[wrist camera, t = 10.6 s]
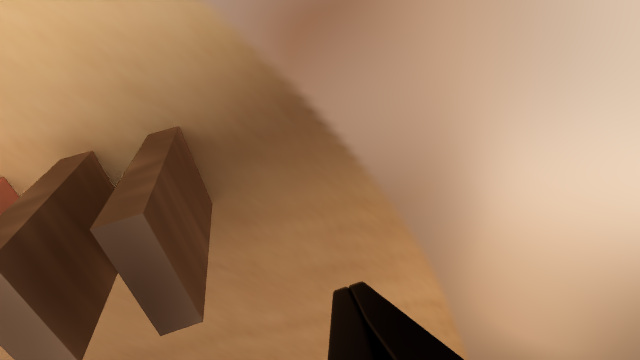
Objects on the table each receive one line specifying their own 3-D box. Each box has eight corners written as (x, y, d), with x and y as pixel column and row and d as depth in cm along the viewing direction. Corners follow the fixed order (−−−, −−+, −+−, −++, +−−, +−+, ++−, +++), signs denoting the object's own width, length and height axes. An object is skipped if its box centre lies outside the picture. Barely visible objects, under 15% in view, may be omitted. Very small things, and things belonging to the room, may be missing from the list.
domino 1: (92, 150, 18) (-11, 260, 10) (136, 227, 21) (80, 363, 13) (60, 159, 18) (-69, 278, 10) (108, 235, 20) (34, 379, 13)
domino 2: (178, 126, 19) (142, 213, 11) (212, 204, 21) (203, 321, 13) (148, 134, 19) (89, 229, 11) (185, 212, 21) (160, 336, 13)
